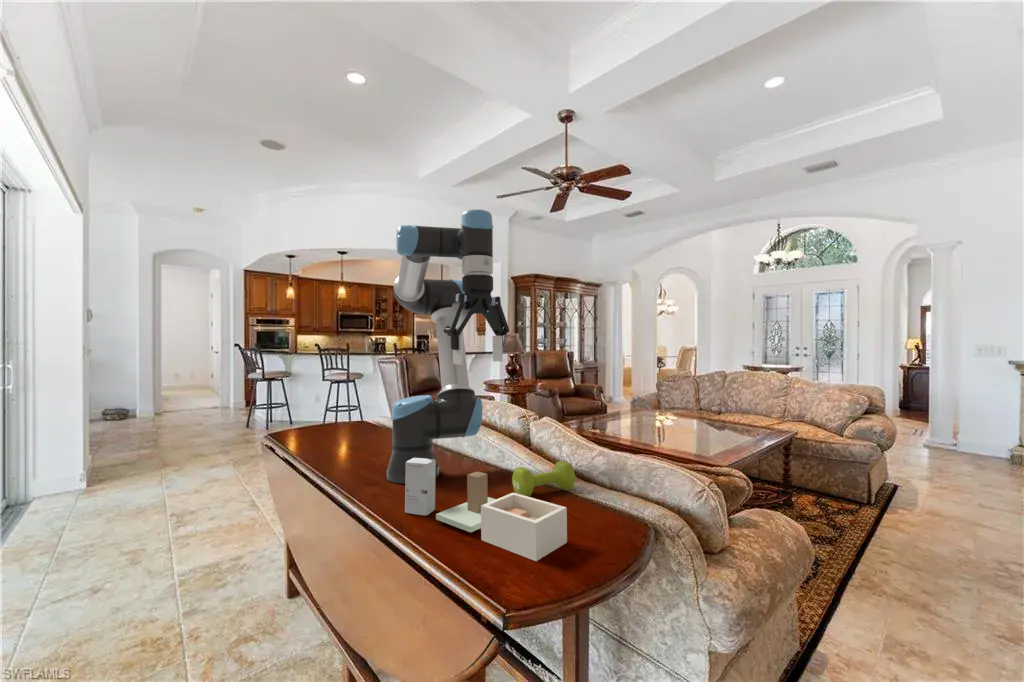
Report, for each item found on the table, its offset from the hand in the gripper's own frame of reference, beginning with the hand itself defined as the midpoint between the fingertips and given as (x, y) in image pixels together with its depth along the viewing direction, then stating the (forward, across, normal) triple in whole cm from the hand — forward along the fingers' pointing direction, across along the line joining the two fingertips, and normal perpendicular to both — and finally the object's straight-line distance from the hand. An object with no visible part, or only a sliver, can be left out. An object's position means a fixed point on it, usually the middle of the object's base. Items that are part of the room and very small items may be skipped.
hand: (478, 362), depth 113 cm
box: (+35, -9, -21) cm, 42 cm away
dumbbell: (+35, +17, -6) cm, 40 cm away
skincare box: (+35, -12, +8) cm, 38 cm away
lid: (+35, -7, -6) cm, 36 cm away
